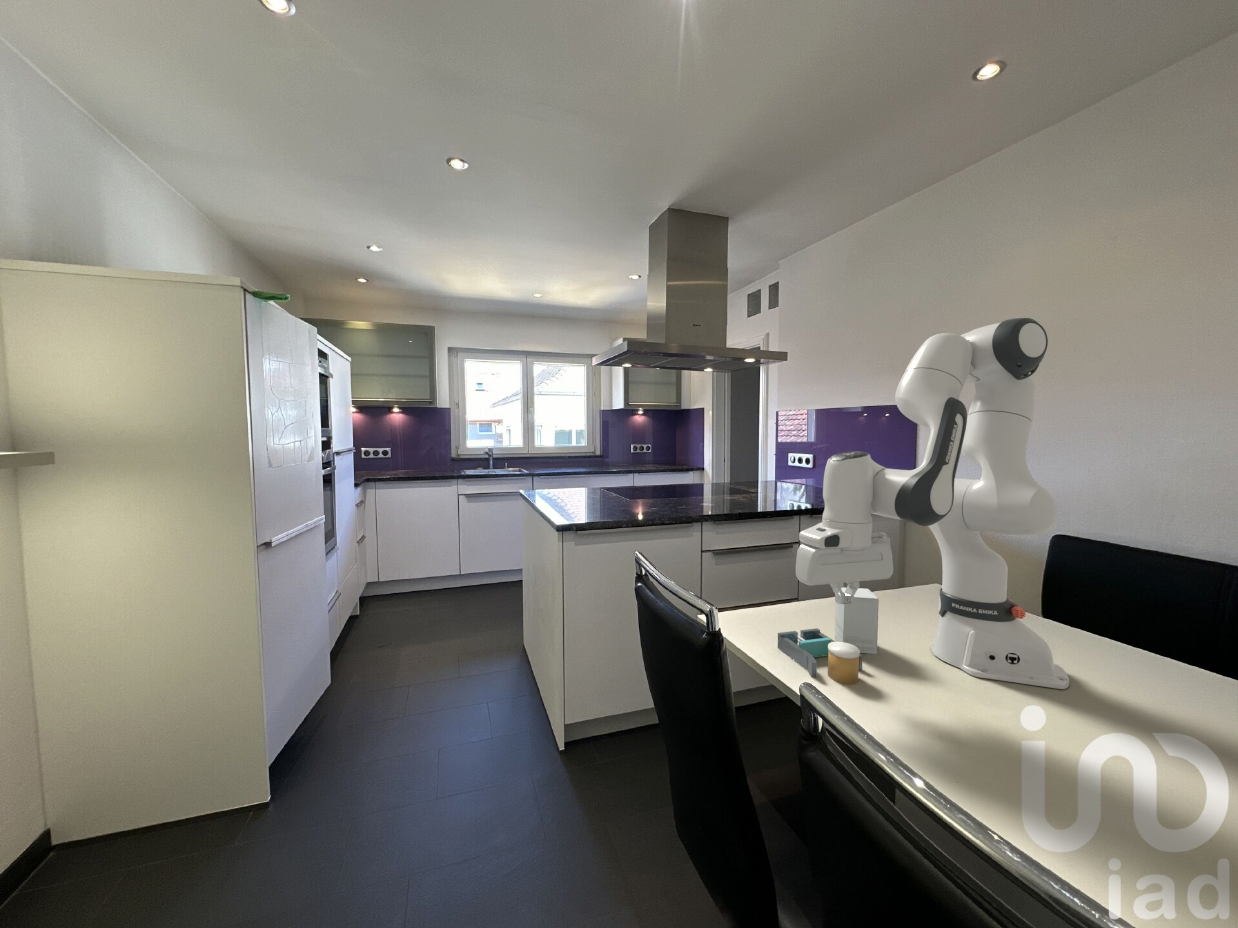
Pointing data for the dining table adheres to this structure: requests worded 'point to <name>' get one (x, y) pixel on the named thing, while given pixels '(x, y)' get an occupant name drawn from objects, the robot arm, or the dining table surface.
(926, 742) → the dining table surface
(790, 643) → the lane
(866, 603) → the supplement box
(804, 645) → the teal open box
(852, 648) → the amber jar
